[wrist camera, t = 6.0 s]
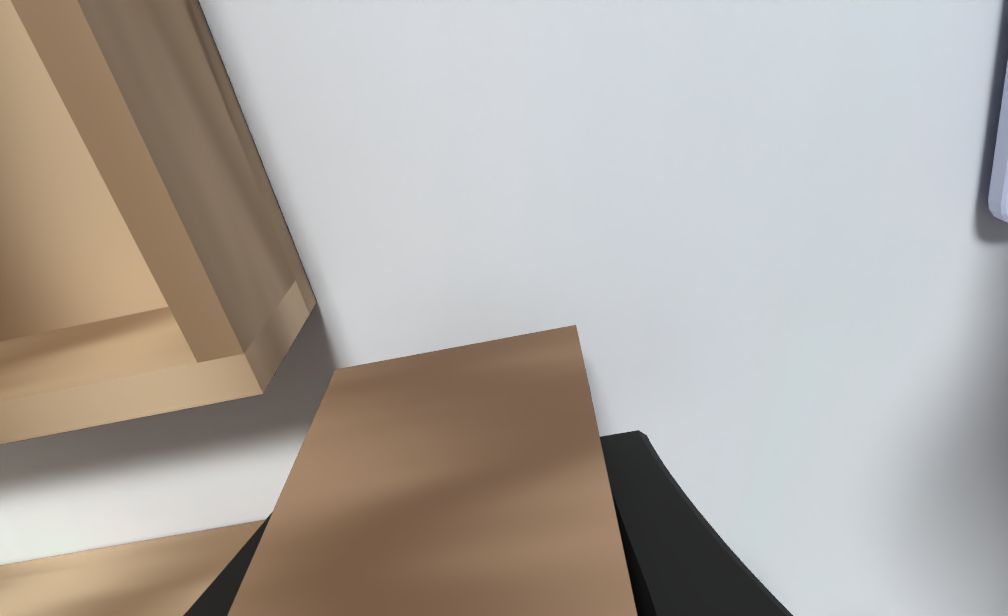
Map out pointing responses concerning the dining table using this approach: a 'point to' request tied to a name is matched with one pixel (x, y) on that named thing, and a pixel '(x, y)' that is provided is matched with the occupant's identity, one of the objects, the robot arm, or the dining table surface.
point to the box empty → (131, 221)
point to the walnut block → (448, 493)
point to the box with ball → (123, 576)
